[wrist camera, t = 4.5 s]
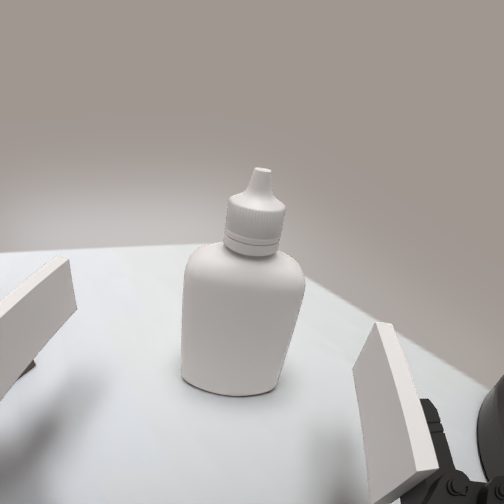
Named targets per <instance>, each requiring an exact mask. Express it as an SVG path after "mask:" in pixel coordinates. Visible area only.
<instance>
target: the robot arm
mask: <svg viewBox="0 0 504 504" xmlns="http://www.w3.org/2000/svg"><path fill="white" fill-rule="evenodd" d="M76 310H77V305H76V300H75V295H74V289H73V283H72V277H71V270H70V263H69V259H68V258H64V257H60V256H55V257H54V258H53V259H51V260H50V261H49V262H48V263H46V264H45V265H44V266H42V267H41V268H40V269H39V270H37V271H36V272H35V273H33V274H32V275H31V276H30V277H28V278H27V279H26V280H25V281H24V282H22V283H21V284H20V285H19V286H17V287H16V288H15V289H14V290H13V291H12V292H10V293H9V294H8V295H7V296H6V297H5V298H3V299H2V300H1V301H0V401H1V400H2V399H3V397H4V396H5V395H6V393H7V392H8V391H9V389H10V388H11V387H12V385H13V384H14V383H15V382H16V380H17V379H18V378H19V376H20V375H21V374H22V373H23V371H24V370H25V369H26V368H27V366H28V365H29V364H30V363H31V362H32V360H33V359H34V358H35V357H36V355H37V354H38V353H39V352H40V351H41V350H42V348H43V347H44V346H45V345H46V344H47V342H48V341H49V340H50V339H51V338H52V337H53V335H54V334H55V333H56V332H57V331H58V330H59V329H60V328H61V326H62V325H63V324H64V323H65V322H66V321H67V320H68V319H69V317H70V316H71V315H72V314H73V313H74V312H75V311H76ZM352 371H353V376H354V382H355V388H356V394H357V400H358V406H359V413H360V419H361V426H362V434H363V441H364V449H365V457H366V466H367V475H368V485H369V496H370V504H390V503H392V502H394V501H395V500H397V499H398V498H400V501H401V504H504V375H503V376H502V377H501V378H500V380H499V381H498V382H497V384H496V385H495V386H494V388H493V389H492V390H491V391H490V393H489V394H488V395H487V397H486V398H485V400H484V402H483V404H482V407H481V410H480V414H479V421H478V440H479V448H480V453H481V458H482V462H483V465H484V469H485V471H486V474H487V477H488V479H489V482H488V483H483V482H474V481H470V480H469V478H468V477H467V475H465V474H464V473H463V472H462V471H459V470H456V469H455V467H454V464H453V460H452V457H451V453H450V450H449V446H448V443H447V440H446V436H445V433H443V431H444V430H443V427H442V424H440V418H439V415H438V412H437V409H436V408H435V407H434V405H433V404H432V403H431V401H430V400H429V399H419V396H418V393H417V390H416V387H415V384H414V382H413V379H412V376H411V373H410V370H409V367H408V365H407V362H406V359H405V356H404V354H403V351H402V349H401V346H400V343H399V341H398V338H397V336H396V333H395V331H394V328H393V326H392V324H391V323H383V322H376V321H375V323H374V325H373V327H372V330H371V332H370V334H369V336H368V338H367V340H366V342H365V344H364V347H363V349H362V351H361V353H360V355H359V357H358V359H357V361H356V363H355V364H354V366H353V368H352Z"/></svg>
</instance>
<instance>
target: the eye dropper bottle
mask: <svg viewBox="0 0 504 504" xmlns="http://www.w3.org/2000/svg"><path fill="white" fill-rule="evenodd" d="M285 211H286V207H285V205H284V204H283V203H281V202H280V201H279V200H277V199H276V198H275V197H274V196H273V193H272V171H271V170H269V169H264V168H255V169H254V172H253V174H252V177H251V180H250V182H249V185H248V188H247V189H246V190H245V191H244V192H243V193H239V194H235V195H233V196H232V197H230V198H229V202H228V208H227V217H226V224H225V231H224V239H223V241H224V242H218V243H213V244H209V245H206V246H203V247H200V248H198V249H197V250H195V251H194V252H193V253H192V254H191V256H190V257H189V260H188V262H187V265H186V269H185V274H184V283H183V299H182V328H181V373H182V377H183V378H184V379H185V380H186V381H187V382H188V383H190V384H192V385H194V386H196V387H198V388H200V389H203V390H206V391H209V392H212V393H217V394H222V395H230V396H248V395H255V394H260V393H264V392H267V391H270V390H271V389H273V388H274V387H275V386H276V384H277V381H278V378H279V375H280V372H281V369H282V366H283V363H284V360H285V357H286V354H287V351H288V347H289V344H290V341H291V338H292V334H293V331H294V328H295V324H296V321H297V318H298V314H299V311H300V307H301V303H302V299H303V296H304V291H305V279H304V275H303V272H302V269H301V267H300V265H299V264H298V263H297V262H296V261H295V260H294V259H293V258H291V257H290V256H288V255H286V254H284V253H283V252H281V251H278V246H279V241H280V236H281V231H282V226H283V221H284V216H285Z"/></svg>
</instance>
